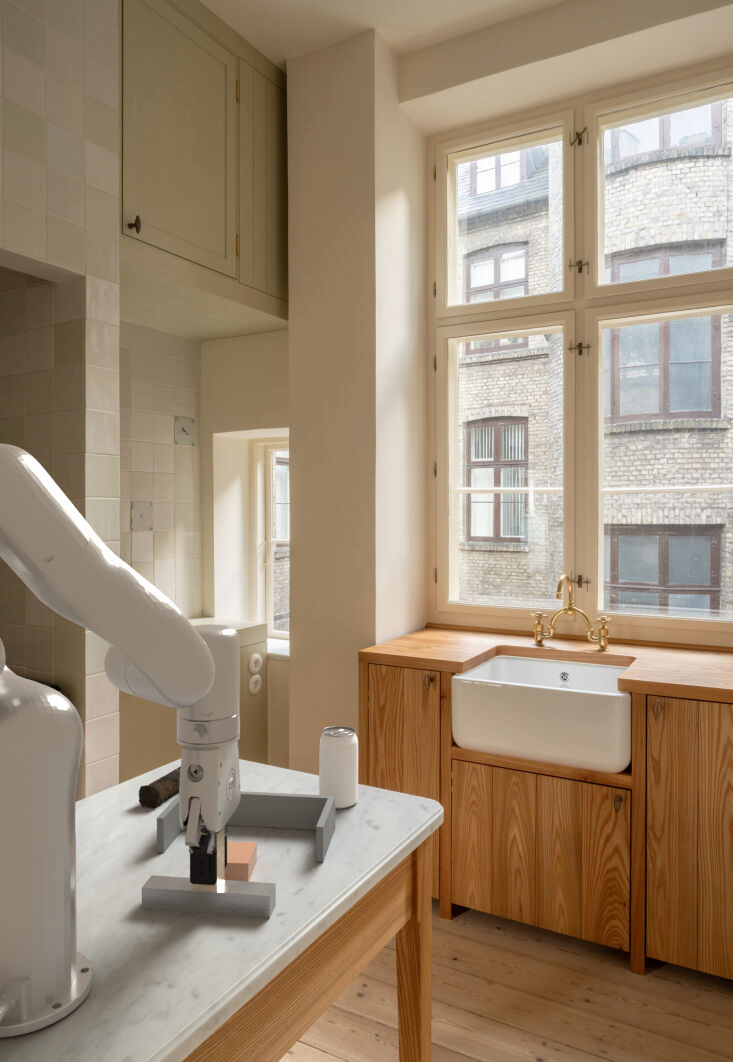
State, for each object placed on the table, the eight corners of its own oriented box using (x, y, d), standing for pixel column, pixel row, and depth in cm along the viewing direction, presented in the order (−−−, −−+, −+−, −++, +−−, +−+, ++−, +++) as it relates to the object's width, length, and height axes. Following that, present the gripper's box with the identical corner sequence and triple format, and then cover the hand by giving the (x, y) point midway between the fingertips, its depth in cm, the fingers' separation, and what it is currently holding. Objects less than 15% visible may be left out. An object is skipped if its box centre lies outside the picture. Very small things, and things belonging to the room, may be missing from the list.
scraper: (269, 920, 89) (269, 838, 88) (141, 911, 90) (141, 831, 90) (275, 906, 92) (275, 827, 91) (151, 898, 93) (151, 820, 93)
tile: (248, 885, 97) (248, 863, 97) (202, 884, 97) (203, 862, 97) (256, 863, 103) (256, 842, 103) (213, 862, 103) (213, 841, 103)
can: (365, 801, 124) (366, 730, 123) (338, 813, 119) (338, 739, 119) (338, 791, 128) (338, 722, 128) (311, 802, 123) (311, 731, 123)
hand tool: (157, 812, 120) (157, 783, 120) (137, 807, 121) (137, 779, 121) (222, 773, 137) (223, 748, 137) (204, 769, 139) (205, 745, 139)
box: (323, 862, 103) (323, 826, 102) (156, 852, 105) (156, 817, 105) (335, 828, 114) (335, 795, 113) (184, 819, 116) (184, 788, 116)
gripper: (217, 751, 82) (217, 914, 82) (256, 709, 98) (256, 846, 99) (152, 748, 82) (153, 909, 83) (201, 707, 99) (201, 843, 99)
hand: (209, 873), depth 91 cm, fingers open, 3 cm apart
